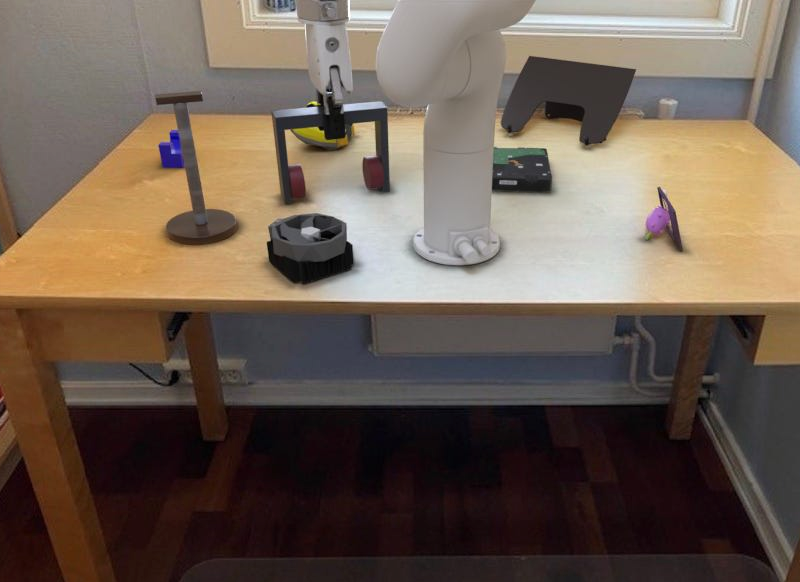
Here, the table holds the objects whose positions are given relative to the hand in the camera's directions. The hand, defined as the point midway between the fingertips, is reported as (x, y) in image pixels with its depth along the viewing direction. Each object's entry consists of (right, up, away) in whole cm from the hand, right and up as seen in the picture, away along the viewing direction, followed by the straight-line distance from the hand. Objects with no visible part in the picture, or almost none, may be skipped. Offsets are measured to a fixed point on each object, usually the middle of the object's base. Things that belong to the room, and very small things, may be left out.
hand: (331, 132), depth 123 cm
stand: (-18, -16, -7) cm, 25 cm away
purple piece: (+50, -17, -5) cm, 53 cm away
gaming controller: (-6, +6, +27) cm, 28 cm away
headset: (0, -9, +6) cm, 10 cm away
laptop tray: (+41, +11, +36) cm, 55 cm away
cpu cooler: (0, -23, -15) cm, 27 cm away
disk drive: (+30, -4, +14) cm, 34 cm away
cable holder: (-30, 0, +17) cm, 35 cm away
